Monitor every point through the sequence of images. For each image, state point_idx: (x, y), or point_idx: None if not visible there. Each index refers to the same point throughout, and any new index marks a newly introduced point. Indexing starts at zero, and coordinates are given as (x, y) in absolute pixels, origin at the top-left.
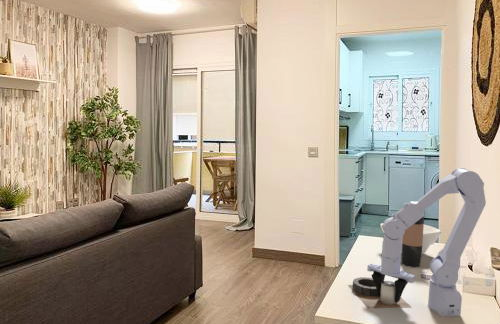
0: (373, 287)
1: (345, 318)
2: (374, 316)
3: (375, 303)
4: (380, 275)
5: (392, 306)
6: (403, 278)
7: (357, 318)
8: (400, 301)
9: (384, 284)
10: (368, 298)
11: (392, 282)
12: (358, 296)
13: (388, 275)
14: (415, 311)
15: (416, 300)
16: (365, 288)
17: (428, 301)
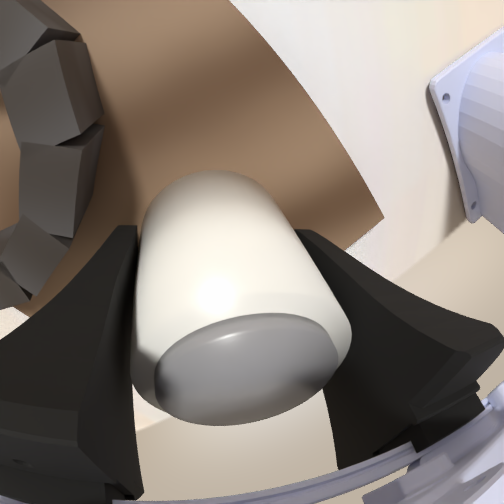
0: (22, 253)
1: (138, 426)
2: None
3: None
4: (133, 493)
5: None
6: (443, 446)
7: (166, 413)
8: (303, 171)
9: (205, 418)
10: None
11: (280, 354)
12: (19, 307)
13: (258, 502)
14: (390, 203)
15: (386, 3)
16: (3, 304)
17: (486, 142)
